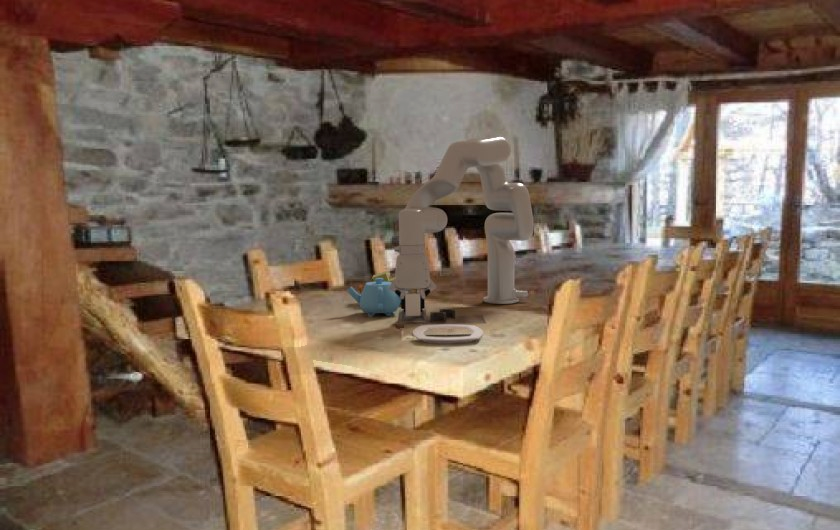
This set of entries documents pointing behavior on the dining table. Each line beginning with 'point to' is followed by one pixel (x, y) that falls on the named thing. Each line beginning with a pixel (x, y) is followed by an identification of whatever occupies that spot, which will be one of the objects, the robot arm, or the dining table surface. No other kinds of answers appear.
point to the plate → (448, 338)
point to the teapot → (377, 298)
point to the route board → (438, 318)
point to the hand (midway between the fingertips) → (413, 310)
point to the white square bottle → (412, 302)
